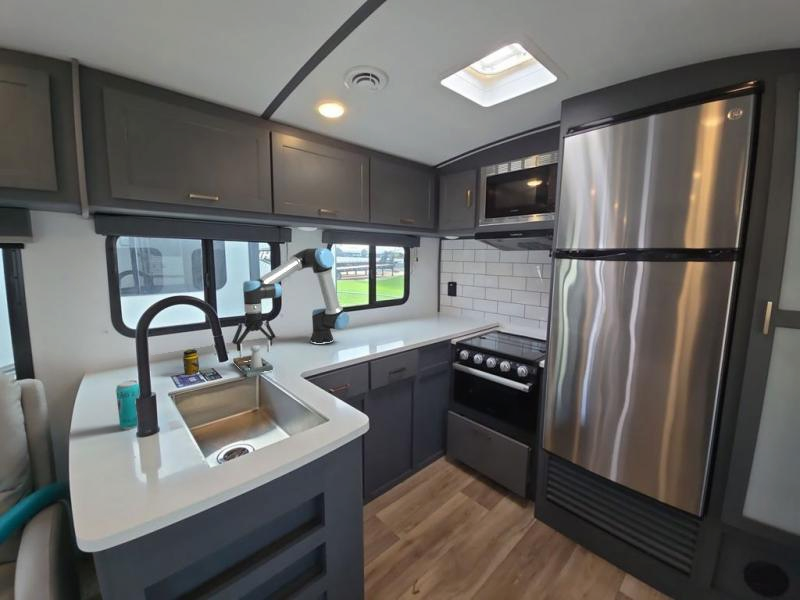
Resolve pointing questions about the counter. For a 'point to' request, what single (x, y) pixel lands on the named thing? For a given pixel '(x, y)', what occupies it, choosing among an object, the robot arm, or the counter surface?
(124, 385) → the beverage can
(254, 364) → the salt shaker
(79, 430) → the counter surface
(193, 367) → the condiment
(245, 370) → the grey rectangular tray
